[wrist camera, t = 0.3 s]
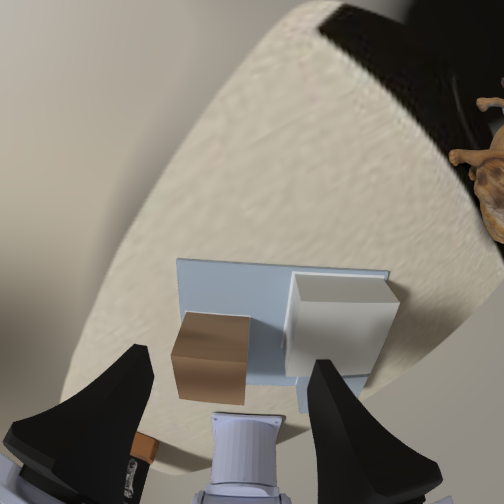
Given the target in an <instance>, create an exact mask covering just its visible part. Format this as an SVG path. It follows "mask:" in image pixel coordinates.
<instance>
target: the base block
mask: <svg viewBox="0 0 504 504" xmlns="http://www.w3.org/2000/svg"><path fill="white" fill-rule="evenodd" d="M399 304H400V302H399V300H398V299H397V298H396V296H395V295H394V294H393V292H392V291H391V289H390V288H389V287H388V285H387V284H386V283H385V281H384V280H383V279H382V278H371V277H347V276H325V275H305V274H295V275H294V281H293V288H292V295H291V301H290V308H289V314H288V320H287V326H286V332H285V338H284V344H283V351H284V361H285V372H286V377H311V374H312V371H313V367H314V364H315V361H316V359H330V360H331V361H332V363H333V364H334V366H335V367H336V369H337V370H338V372H339V373H340V375H341V376H343V375H359V374H370V373H371V371H372V369H373V367H374V365H375V363H376V360H377V358H378V356H379V354H380V352H381V349H382V347H383V345H384V342H385V340H386V338H387V335H388V333H389V330H390V328H391V325H392V323H393V320H394V318H395V315H396V313H397V310H398V307H399Z"/></svg>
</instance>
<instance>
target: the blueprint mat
mask: <svg viewBox="0 0 504 504" xmlns="http://www.w3.org/2000/svg"><path fill="white" fill-rule="evenodd" d="M176 265H177V279H178V291H179V302H180V312H181V322H183V319H184V317H185V314H186V312H194V313H205V314H217V315H230V316H245V317H249V336H248V356H247V372H246V384H250V385H278V386H296V384H297V380H298V377H286V372H285V361H284V351H283V344H284V338H285V332H286V326H287V320H288V314H289V308H290V301H291V295H292V288H293V281H294V275H295V274H305V275H325V276H347V277H371V278H382V279H383V280H384V281H385V283H386V281H387V277H388V274H389V272H388V271H387V270H367V269H347V268H328V267H309V266H292V265H275V264H258V263H242V262H226V261H211V260H196V259H181V258H177V259H176Z"/></svg>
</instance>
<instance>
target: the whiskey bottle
mask: <svg viewBox="0 0 504 504" xmlns="http://www.w3.org/2000/svg"><path fill="white" fill-rule="evenodd" d="M158 445H159V443H158V442H157V441H156V440H155V439H153V438H150V437H148V436H145V435H143V434H140V433H138V432H136V434H135V437H134V440H133V444H132V449H131V453H130V458H129V463H128V469H127V475H126V483H125V492H124V504H139V503H140V499H141V495H142V491H143V488H144V484H145V481H146V477H147V473H148V470H149V466H150V465H151V464H152V463H153V461H154V458H155V455H156V452H157V448H158Z"/></svg>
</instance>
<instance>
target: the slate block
mask: <svg viewBox="0 0 504 504" xmlns="http://www.w3.org/2000/svg"><path fill="white" fill-rule="evenodd" d="M368 377H369V376H368V374H359V375H343V376H342V378H343V379H344V381H345V382H346V384H347V385H348V386H349V388H350V389H351V391H352V392H353V393H354V395H355V396H356V397H357V398H358V397H359V395H360V393H361V391H362V389H363V387H364V385H365V383H366V381H367V379H368ZM309 380H310V377H298V380H297V384H296V389H297V397H298V406H299V413H309V412H308V402H307V387H308V383H309Z"/></svg>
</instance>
